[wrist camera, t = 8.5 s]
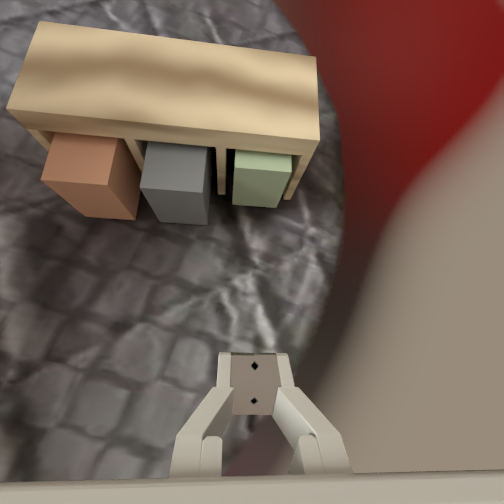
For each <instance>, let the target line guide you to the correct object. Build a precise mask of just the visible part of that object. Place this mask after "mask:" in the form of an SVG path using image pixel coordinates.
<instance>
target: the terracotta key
mask: <svg viewBox="0 0 504 504" xmlns="http://www.w3.org/2000/svg"><path fill="white" fill-rule="evenodd" d="M141 177H142V172H141V170H140V168H139V166H138V164H137V162H136V161H135V159H134V157H133V155H132V153H131V151H130V149H129V147H128V145H127V143H126V141H125V139H124V138H116V137H105V136H95V135H84V134H74V133H64V132H55V134H54V137H53V140H52V143H51V147H50V150H49V153H48V156H47V160H46V163H45V166H44V170H43V173H42V176H41V179H40V180H41V181H43V182H44V183H45V184H46V185H47V186H49V187H50V188H51V189H52V190H54V191H55V192H56V193H57V194H58V195H60V196H61V197H62V198H63V199H65V200H66V201H67V202H68V203H69V204H71V205H72V206H73V207H74V208H75V209H77V210H78V211H79V212H80V213H82V214H83V215H84V216H85V217H96V218H110V219H125V220H136V215H137V209H138V203H139V197H140V192H141V189H140V183H141Z"/></svg>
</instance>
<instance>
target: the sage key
mask: <svg viewBox="0 0 504 504" xmlns="http://www.w3.org/2000/svg"><path fill="white" fill-rule="evenodd" d="M291 173H292V166H291V154H282V153H271V152H261V151H251V150H240V149H236V150H235V166H234V182H233V198H232V205H244V206H257V207H270V208H277V205H278V203H279V201H280V198H281V196H282V194H283V191H284V189H285V187H286V184H287V182H288V180H289V177H290V175H291Z"/></svg>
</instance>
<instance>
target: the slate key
mask: <svg viewBox="0 0 504 504" xmlns="http://www.w3.org/2000/svg"><path fill="white" fill-rule="evenodd" d="M211 180H212V155H211V147H209V146H199V145H188V144H178V143H168V142H157V141H148V144H147V149H146V155H145V160H144V166H143V172H142V177H141V183H140V189H141V191H142V193H143V194H144V196H145V198H146V199H147V201H148V203H149V204H150V206H151V208H152V209H153V211H154V213H155V215H156V216H157V218H158V220H159V221H160V222H167V223H182V224H196V225H208V214H209V203H210V192H211Z"/></svg>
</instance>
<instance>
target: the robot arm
mask: <svg viewBox="0 0 504 504" xmlns="http://www.w3.org/2000/svg"><path fill="white" fill-rule="evenodd" d="M251 414H254V415H272V416H273V418H274V420H275V421H276V423H277V424H278V426H279V427H280V429H281V431H282V432H283V434H284V435H285V437H286V438H287V440H288V441H289V443H290V445H291V446H292V448H293V449H294V451H295V453H294V456H293V459H292V462H291V465H290V469H289V472H288V473H289V475H274V476H273V475H270V476H232V477H221V464H222V439H221V438H220V437H221V436H222V434H223V432H224V430H225V428H226V426H227V425H228V423H229V421H230V419H231V417H232V415H251ZM0 504H504V470H465V471H426V472H390V473H389V472H388V473H353V472H352V468H351V465H350V462H349V459H348V456H347V453H346V450H345V447H344V444H343V441H342V437H341V434H340V433H339V432H338V431H337V430H336V429H335V427H334V426H333V425H332V424H331V423H330V422H329V421H328V420H327V419H326V417H325V416H323V414H322V413H321V412H320V411H319V410H318V409H317V407H316V406H315V405H314V404H313V403H312V402H311V401H310V400H309V399H308V397H307V396H306V395H305V394H304V393H303V392H302V391H301V390H300V389H299V388H298V387H295V385H294V381H293V376H292V371H291V367H290V362H289V357H288V355H287V353H234V352H219V359H218V373H217V387H213V388H212V389H211V390H210V392H209V393H208V394H207V396H206V397H205V398H204V400H203V401H202V402H201V404H200V405H199V406H198V408H197V409H196V410H195V411H194V413H193V414H192V415H191V417H190V418H189V419H188V421H187V422H186V423H185V425H184V426H183V427H182V429H181V430H180V431H179V433H178V434H177V435H176V440H175V446H174V451H173V456H172V462H171V467H170V472H169V477H168V478H156V479H118V480H79V481H39V482H0Z"/></svg>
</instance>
